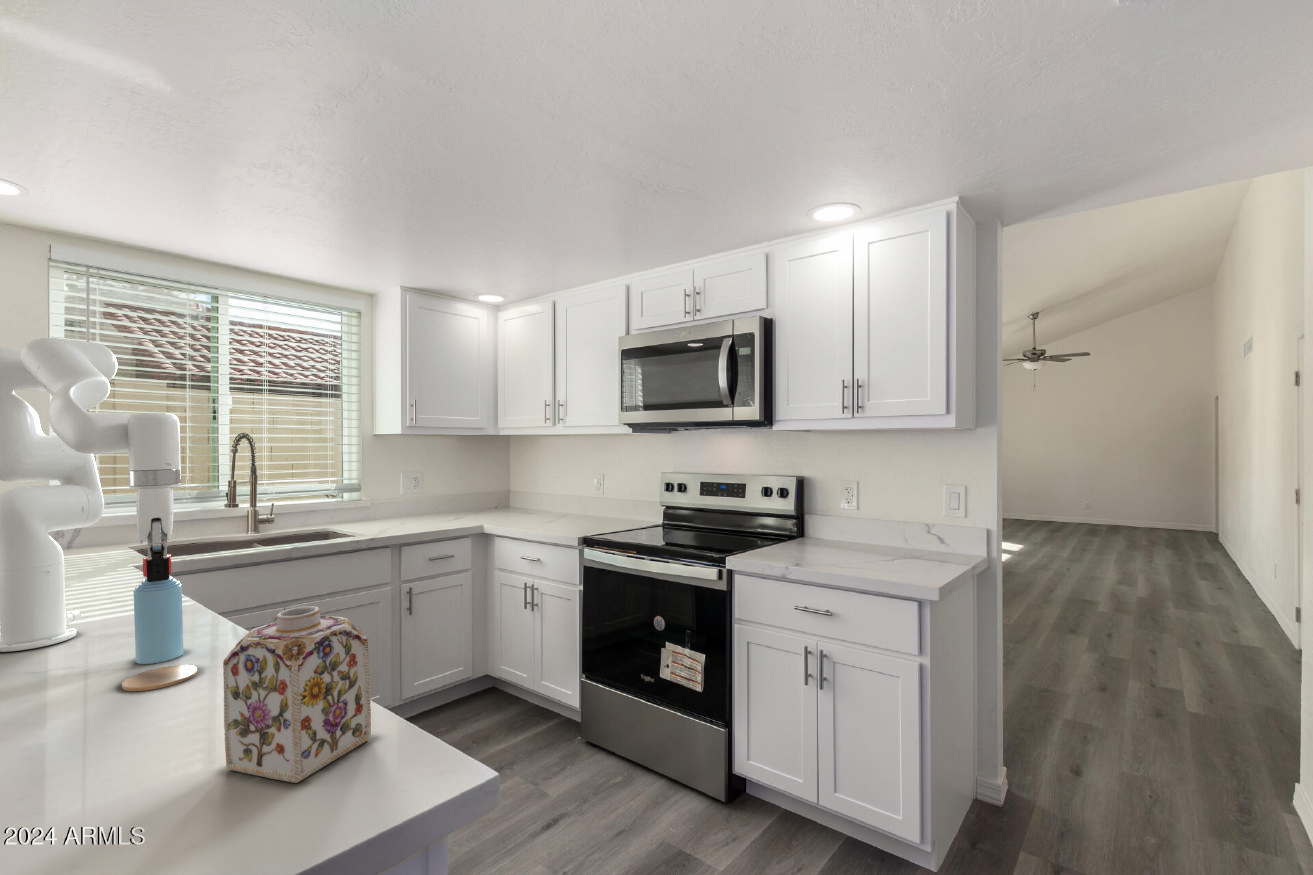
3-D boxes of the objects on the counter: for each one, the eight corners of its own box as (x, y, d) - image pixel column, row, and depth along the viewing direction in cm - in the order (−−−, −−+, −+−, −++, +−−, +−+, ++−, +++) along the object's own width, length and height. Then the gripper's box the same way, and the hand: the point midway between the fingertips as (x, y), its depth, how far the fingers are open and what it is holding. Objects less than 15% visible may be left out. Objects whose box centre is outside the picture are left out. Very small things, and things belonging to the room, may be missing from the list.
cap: (137, 577, 115) (137, 559, 115) (152, 572, 119) (151, 554, 119) (162, 576, 116) (162, 558, 116) (176, 571, 120) (175, 553, 120)
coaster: (147, 670, 111) (147, 667, 111) (209, 666, 112) (209, 662, 112) (106, 693, 101) (105, 689, 101) (174, 688, 102) (174, 684, 102)
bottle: (151, 651, 121) (148, 557, 121) (191, 649, 122) (189, 555, 122) (126, 665, 114) (122, 565, 114) (168, 662, 115) (165, 563, 115)
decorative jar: (374, 739, 83) (370, 601, 83) (297, 786, 72) (293, 627, 72) (304, 727, 87) (300, 596, 87) (221, 770, 76) (217, 620, 76)
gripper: (131, 479, 122) (134, 574, 122) (126, 483, 109) (130, 590, 109) (180, 476, 127) (183, 568, 127) (181, 480, 113) (184, 582, 113)
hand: (158, 577), depth 118 cm, fingers closed on cap, 4 cm apart
